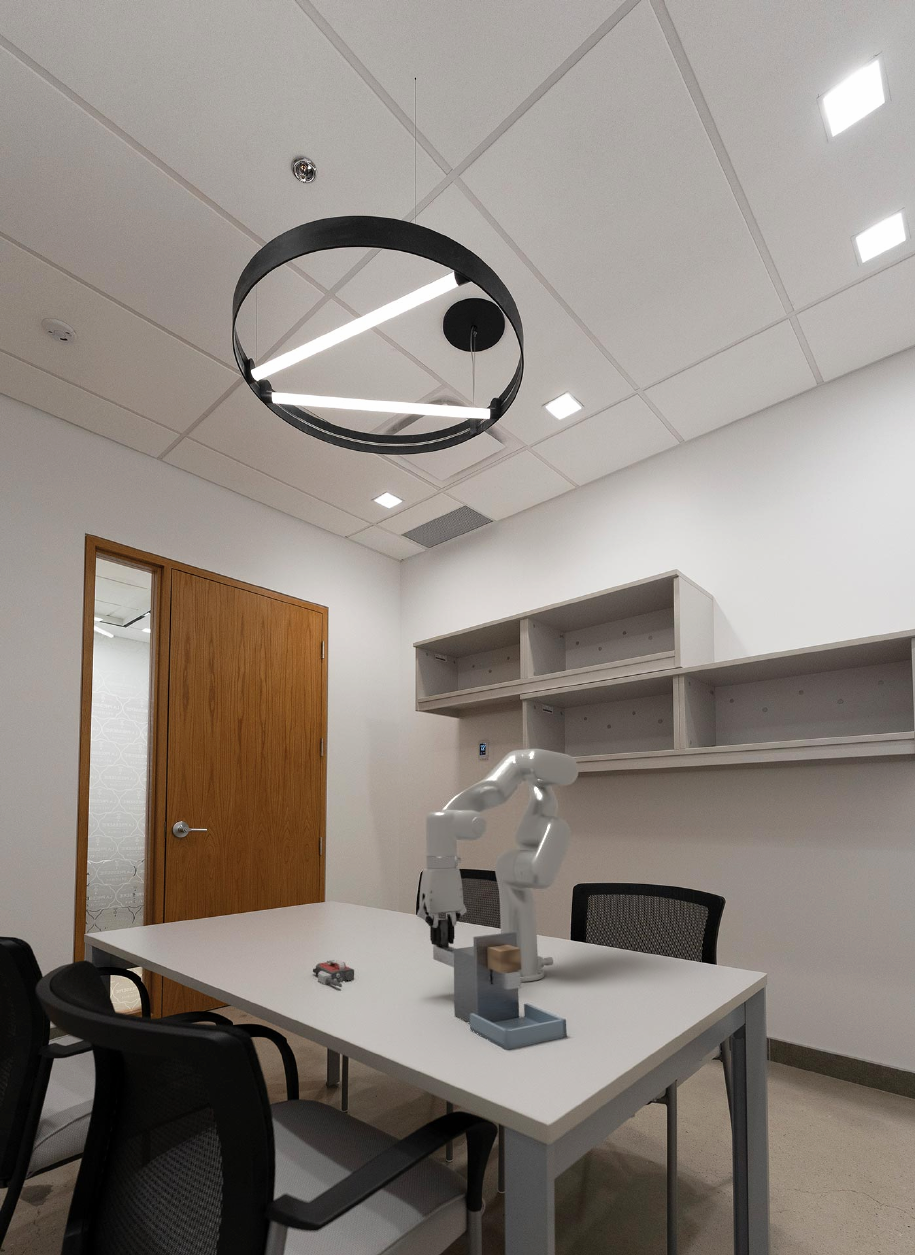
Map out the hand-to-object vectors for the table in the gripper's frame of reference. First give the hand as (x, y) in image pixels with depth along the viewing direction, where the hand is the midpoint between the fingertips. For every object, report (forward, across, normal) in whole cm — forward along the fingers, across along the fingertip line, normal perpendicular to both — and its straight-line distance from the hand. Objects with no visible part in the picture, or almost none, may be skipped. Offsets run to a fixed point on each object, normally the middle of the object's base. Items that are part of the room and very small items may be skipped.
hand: (442, 943), depth 170 cm
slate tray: (+12, 0, +32) cm, 34 cm away
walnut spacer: (+1, 0, +27) cm, 27 cm away
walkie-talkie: (+12, +16, -29) cm, 35 cm away
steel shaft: (+4, 0, +15) cm, 15 cm away
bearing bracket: (+12, 0, +20) cm, 23 cm away
